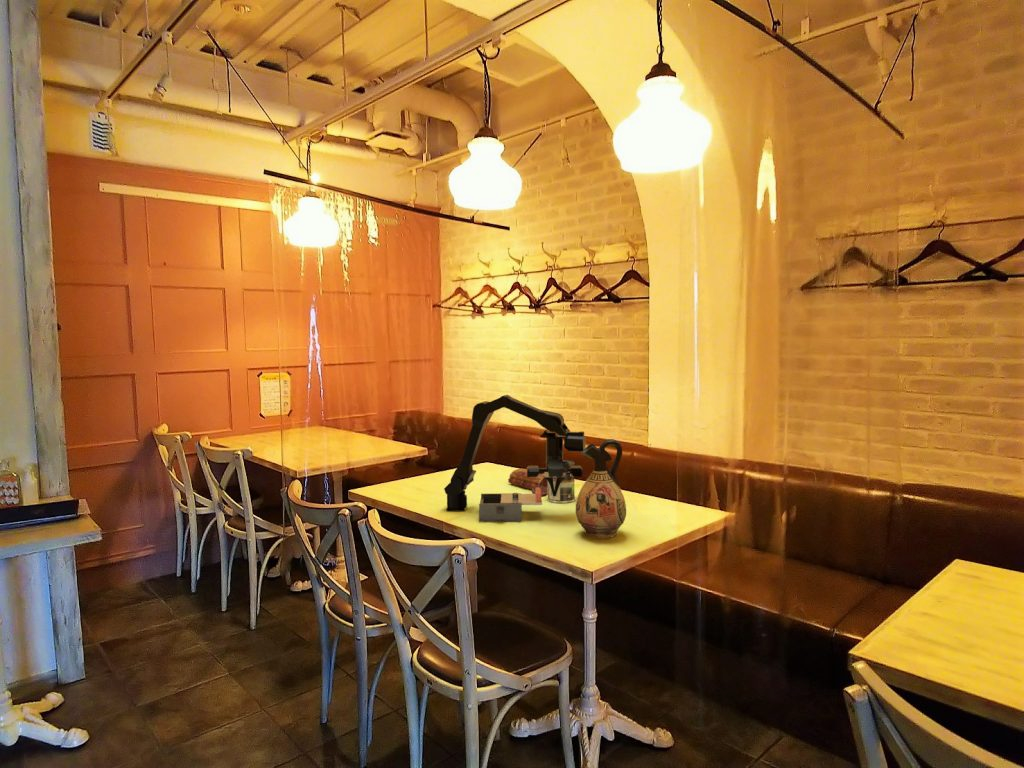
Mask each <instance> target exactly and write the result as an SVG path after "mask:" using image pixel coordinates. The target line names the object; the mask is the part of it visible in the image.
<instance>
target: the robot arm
mask: <svg viewBox="0 0 1024 768" xmlns="http://www.w3.org/2000/svg"><path fill="white" fill-rule="evenodd" d="M505 408H506V409H508V410H510V411H512V412H515V413H517V414H519V415H521V416H523V417H526V418H528V419H529V420H533V421H534V422H536V423H537V424H539V426H541V427H542V428H544V429H545V430H544V431H543V433H542V434H540V436H539V437H540V438H542V439H543V438H544V439H545V452H546V453H545V467H539V465H528V466H527V467H526V469H527V477H537V476H538V475H539V474H544V475H543V476H544V479H547V480H548V482H549V484H550V487H551V490H552V493H553V496H556V494H557V491H558V488H559V485H560V483H561V481H562V480H563V479H566V477H565V475H566V474H571V475H572V476H573V477H574V478H580V477H581V478H582V477H584V470H583V468H582V466H581V465H574V466H570V468H569V462H563V460H564V449H565V450H567V452H576V453H582V451H583V450H584V449H585V448H586V447H587V444H586V443H587V439H586V436H585V431H582V430H581V431H571V430H570V429H569V427H568V425H566V423H565V419H564V416H563V415H562V414H561V413H558V412H556V411H555V412H554V411H551V410H544V409H539V408H537V407H535V406H533V405H531V404H528V403H525V402H523V401H522V400H519V399H516V398H514V397H513V396H511V395H509V394H504V395H501V396H500V397H498V398H496V399H494V400H491V401H487V400H486V401H485V400H484V401H482V402H479V403H476V404H474V406H473V409H472V415H471V424H472V425H471V428H470V432H469V434H468V438H467V441H466V445H465V448H464V451H463V453H462V457H461V461H460V462H459V464H458V466H457V467H456V468H455V470H454V471H453V474H452V476H451V478H450V482H449V483H448V484H447V485H446V486H445V487H444V488H443V489H444V492H445V494H446V511H447V512H465V511H466V509H467V507H468V495H467V494H466V490H467V488H468V486H469V485H470V484H471V483H472V482H474V480H475V479H474V478H475V475H476V473H477V470H475V469H474V467H473V465H474V462H475V459H476V456H477V453H478V449H479V446H480V443H481V440H482V436H483V435H484V430H485V428H486V426H487V425H488V423H489V422H490V420H491V419H492V416H493V415H494V413H495V412H496V411H499V410H501V409H505ZM553 477H556V480H555V490H554V484H553Z"/></svg>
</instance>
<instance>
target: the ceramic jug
mask: <svg viewBox="0 0 1024 768" xmlns="http://www.w3.org/2000/svg"><path fill="white" fill-rule="evenodd" d="M606 447H614V448H615V449H616V455H615V459H614V461H613V464H612V465H611V468H610V469H609V468H608V466H607V462H608V461H612V460H613V458H612V455H611V454H610V453H609V452H608V451H607V450H606ZM580 455H581V456H583V457H586V458H589V459H591V460H592V461H594V463H595V465H594V469H592V472H591V473H590V474H589V475H588V477H587V478H586V479H585V482H584V484H583V485H582V486H581V488H580V491H579V493H578V495H577V498H576V499H577V500H576V504H575V515H576V520H577V522H578V523H579V524H580V525H581V527H582V529H583V530H584V531H585V532H584V535H586V536H587V537H589V538H592V539H601V540H605V539H610V538H611V539H612V538H614V537H615V536H616V535H617V534H618V533H617V532H618V530H620V527H621V526H622V525H623V524H624V522H625V520H626V517H627V504H626V500H625V496H624V494H623V493H622V490H621V487H620V485H619V481H618V477H617V471H618V468H619V466H620V462H621V459H622V457H623V447H622V444H621V442H619V441H618V440H616V439H613V438H609V439H606V440H604V441H602V442H601V443H600V445H599V447H598V446H597V445H595V444H594V443H593V442H592V443H590V444H588V445H586V447H585V449H584V450H583V451H582V452H580Z"/></svg>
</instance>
